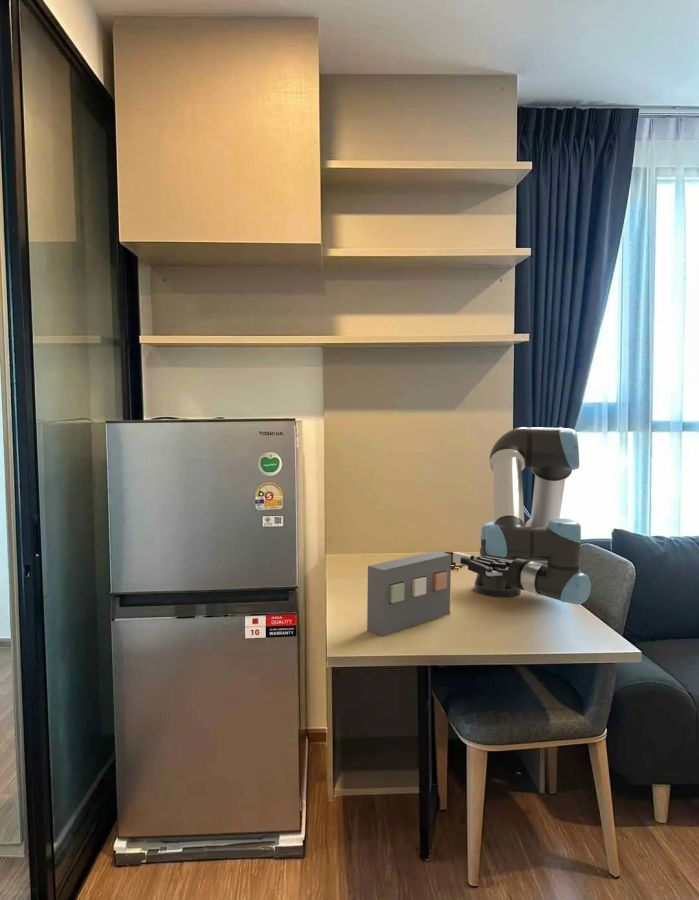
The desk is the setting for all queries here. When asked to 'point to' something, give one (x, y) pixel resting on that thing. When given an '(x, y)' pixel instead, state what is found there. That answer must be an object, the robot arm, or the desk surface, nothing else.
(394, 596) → the sage green button
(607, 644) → the desk surface
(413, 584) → the cream button
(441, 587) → the terracotta button
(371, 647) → the desk surface
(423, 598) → the button panel
